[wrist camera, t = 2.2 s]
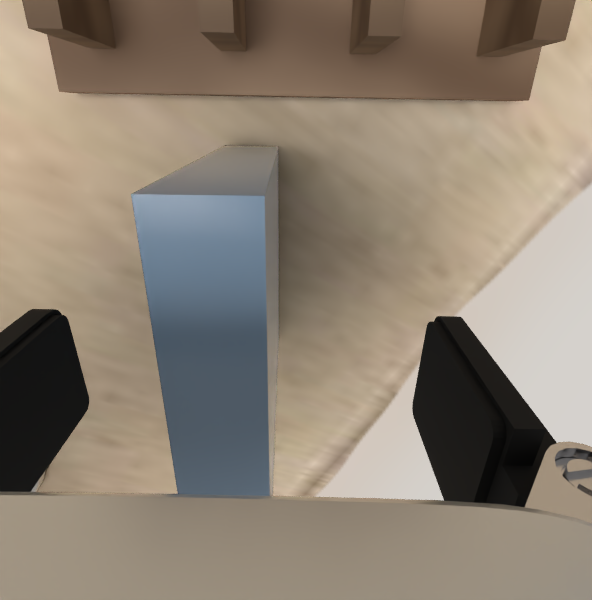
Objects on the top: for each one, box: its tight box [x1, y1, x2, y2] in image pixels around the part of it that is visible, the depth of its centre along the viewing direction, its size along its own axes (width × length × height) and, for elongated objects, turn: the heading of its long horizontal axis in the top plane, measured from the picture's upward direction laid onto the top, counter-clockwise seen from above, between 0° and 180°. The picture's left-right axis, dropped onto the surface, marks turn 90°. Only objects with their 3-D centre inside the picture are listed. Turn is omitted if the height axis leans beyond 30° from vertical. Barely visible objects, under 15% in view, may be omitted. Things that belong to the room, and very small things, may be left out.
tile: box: [131, 145, 279, 496], centre depth 15 cm, size 10×2×12 cm, turn 179°
